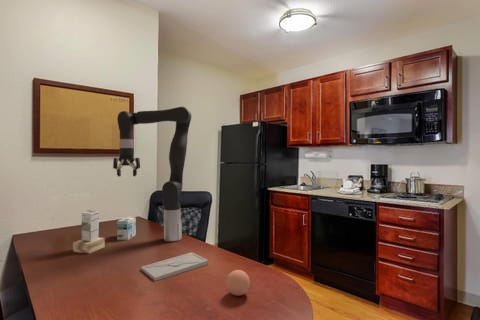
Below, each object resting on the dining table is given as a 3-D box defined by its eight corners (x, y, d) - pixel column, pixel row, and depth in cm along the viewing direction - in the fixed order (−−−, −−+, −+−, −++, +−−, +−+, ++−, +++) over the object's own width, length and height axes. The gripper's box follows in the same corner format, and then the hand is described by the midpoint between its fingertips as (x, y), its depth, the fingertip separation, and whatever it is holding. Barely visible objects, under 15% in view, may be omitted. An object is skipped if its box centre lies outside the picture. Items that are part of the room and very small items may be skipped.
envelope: (141, 271, 112) (155, 282, 101) (141, 266, 112) (154, 277, 101) (192, 256, 128) (208, 264, 117) (191, 251, 127) (208, 259, 117)
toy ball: (249, 288, 95) (249, 266, 95) (250, 300, 87) (250, 275, 87) (226, 289, 95) (226, 266, 95) (226, 300, 87) (225, 276, 87)
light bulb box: (128, 240, 153) (128, 221, 153) (116, 240, 153) (116, 221, 153) (136, 234, 164) (136, 217, 164) (125, 234, 164) (124, 217, 164)
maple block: (104, 247, 141) (104, 237, 141) (89, 254, 132) (89, 243, 132) (88, 246, 144) (88, 236, 144) (72, 252, 134) (72, 242, 134)
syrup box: (98, 238, 140) (99, 210, 139) (90, 242, 134) (91, 213, 134) (89, 236, 141) (90, 209, 141) (80, 240, 136) (81, 212, 135)
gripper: (141, 147, 156) (141, 175, 156) (117, 147, 156) (117, 176, 156) (136, 147, 148) (136, 176, 148) (110, 147, 148) (111, 176, 149)
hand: (126, 176), depth 152 cm, fingers open, 8 cm apart
